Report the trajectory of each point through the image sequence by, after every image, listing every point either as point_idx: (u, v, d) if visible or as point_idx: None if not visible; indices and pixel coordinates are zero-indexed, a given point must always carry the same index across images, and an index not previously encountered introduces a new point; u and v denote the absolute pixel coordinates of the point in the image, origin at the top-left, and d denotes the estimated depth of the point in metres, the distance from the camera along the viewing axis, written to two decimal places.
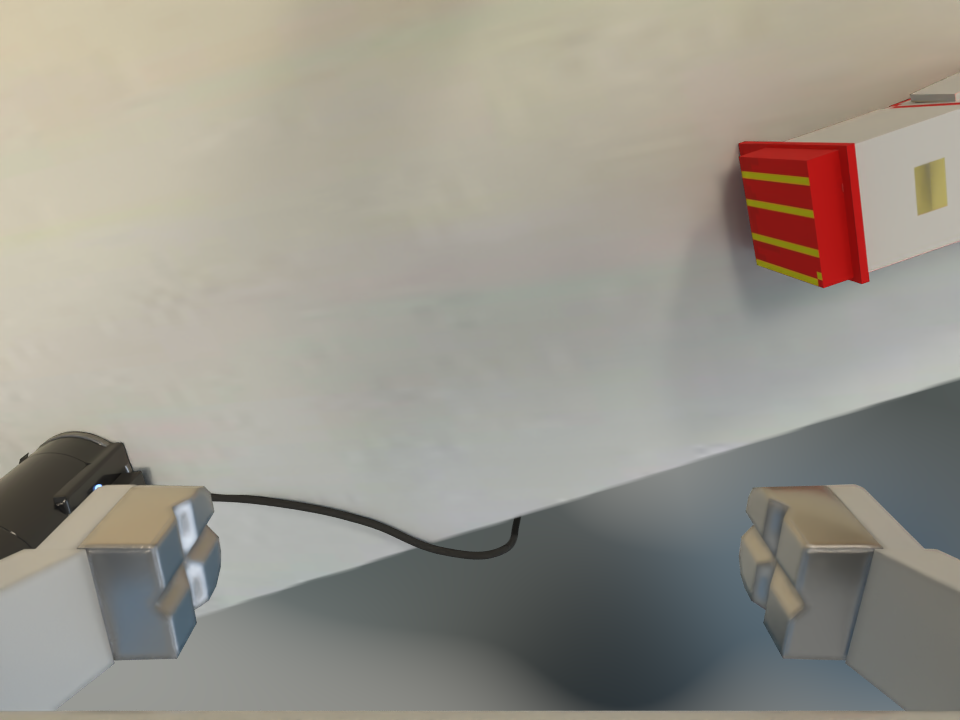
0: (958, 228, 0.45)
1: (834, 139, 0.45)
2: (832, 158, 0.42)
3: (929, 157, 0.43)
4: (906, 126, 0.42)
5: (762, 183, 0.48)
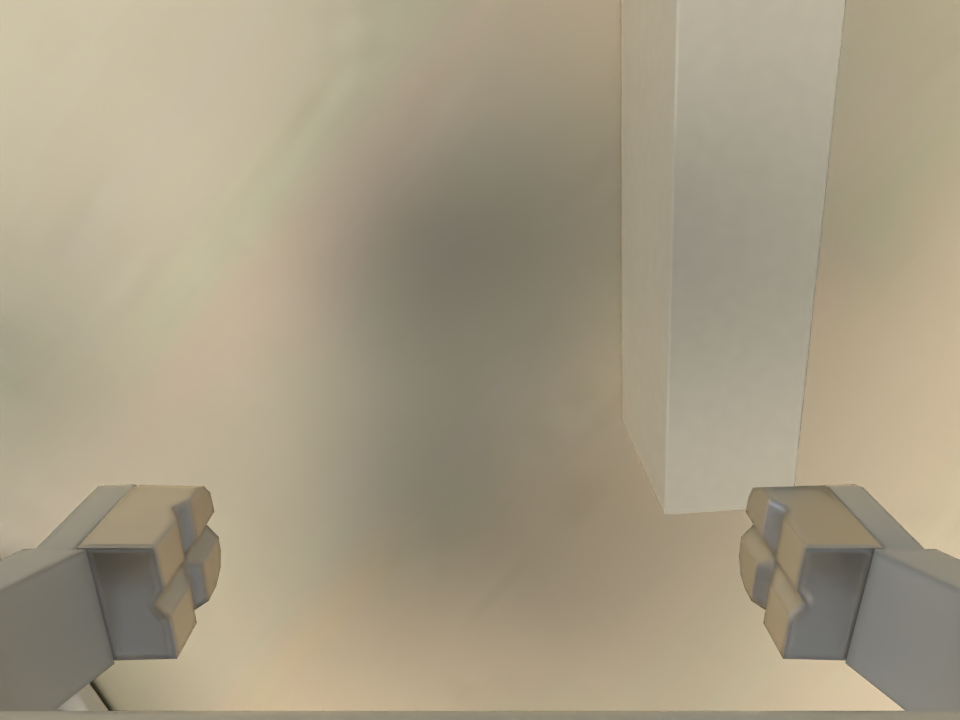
0: None
1: None
2: None
3: None
4: None
5: None
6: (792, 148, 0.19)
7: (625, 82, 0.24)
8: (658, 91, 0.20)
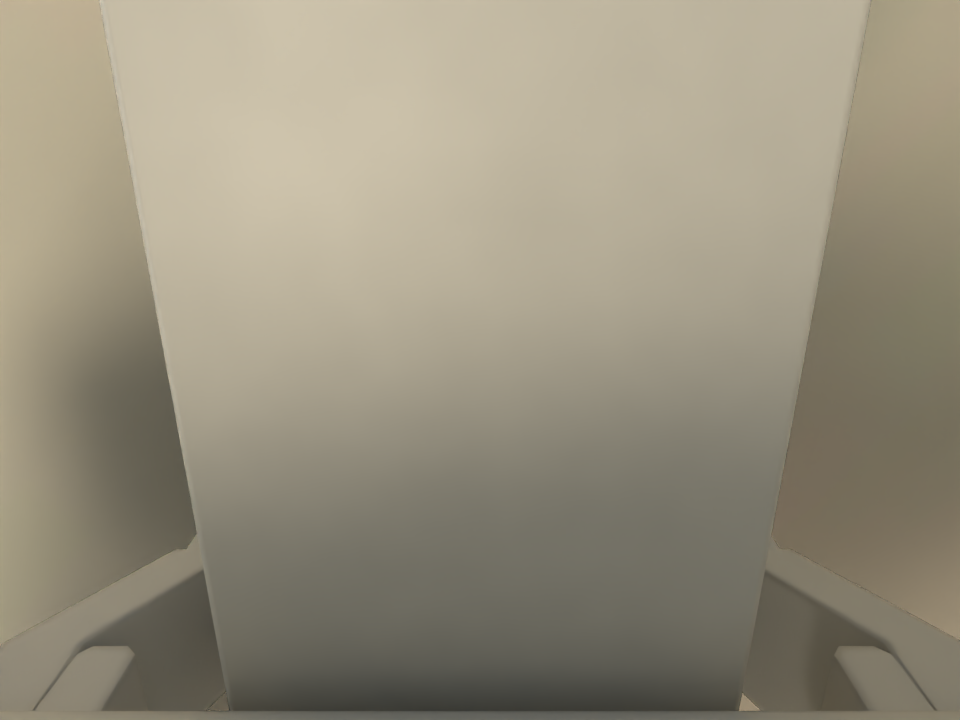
0: None
1: None
2: None
3: None
4: None
5: None
6: (670, 121, 0.04)
7: None
8: None
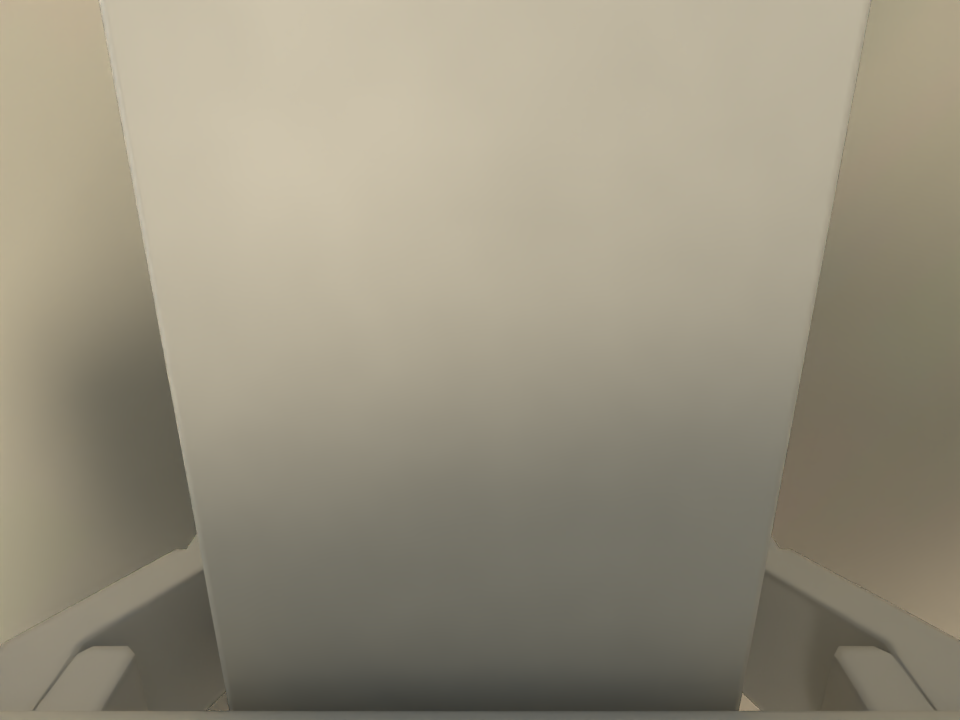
0: None
1: None
2: None
3: None
4: None
5: None
6: (670, 121, 0.04)
7: None
8: None
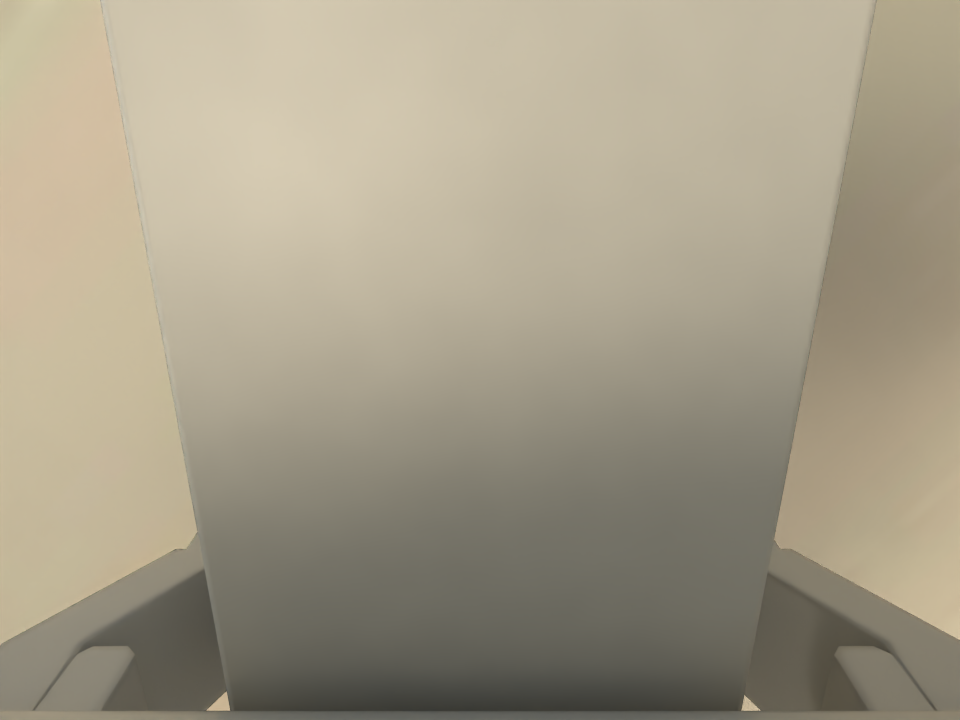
0: None
1: None
2: None
3: None
4: None
5: None
6: (675, 119, 0.04)
7: None
8: None
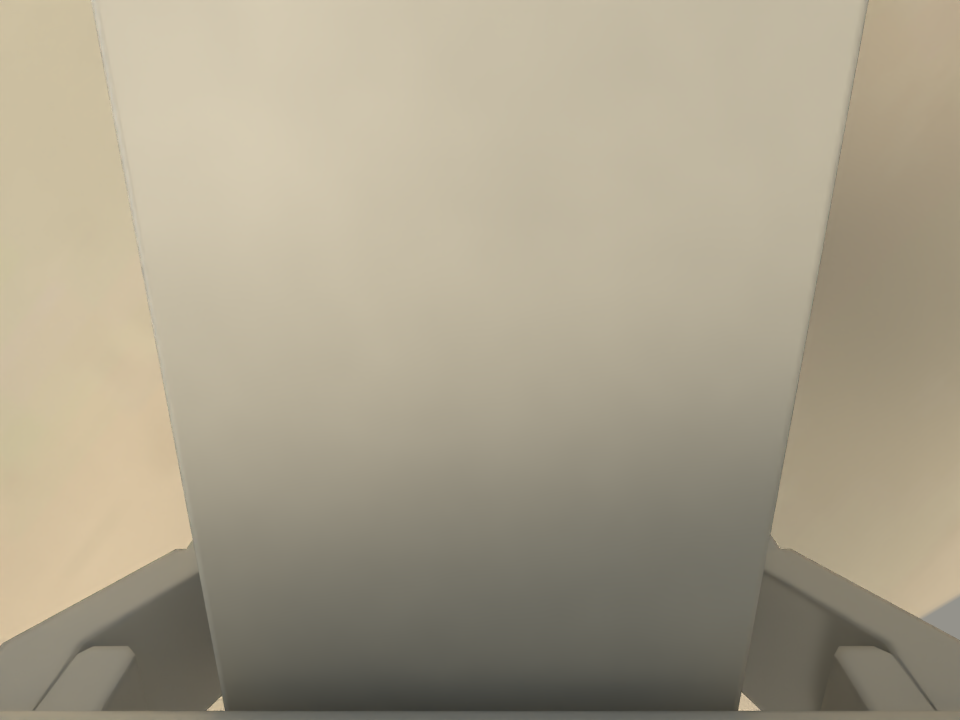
0: None
1: None
2: None
3: None
4: None
5: None
6: (669, 115, 0.04)
7: None
8: None
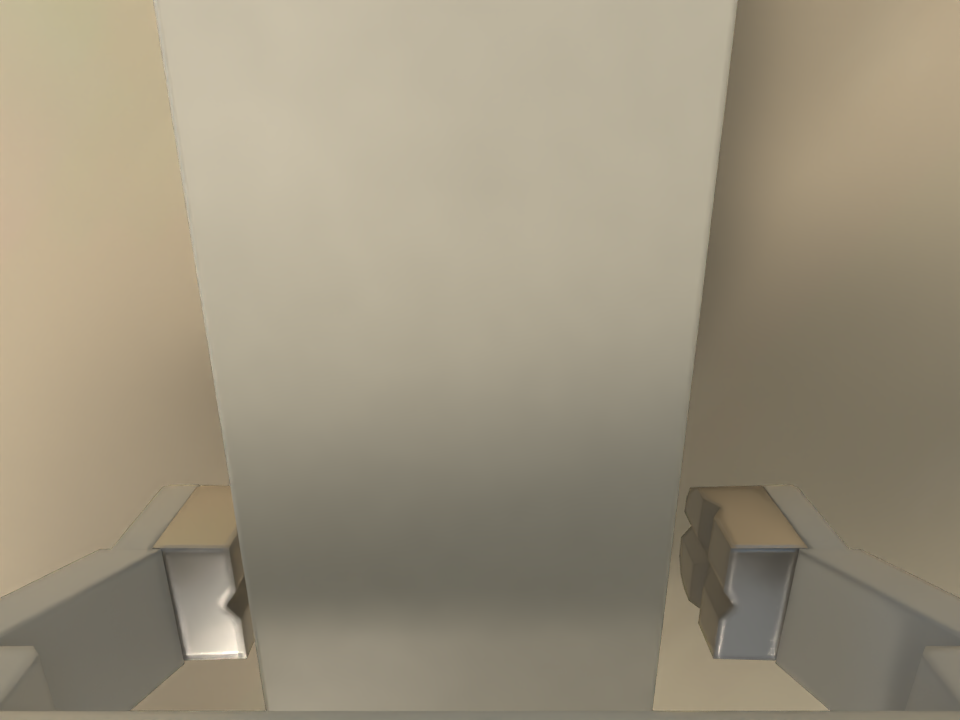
0: None
1: None
2: None
3: None
4: None
5: None
6: (588, 110, 0.05)
7: None
8: None
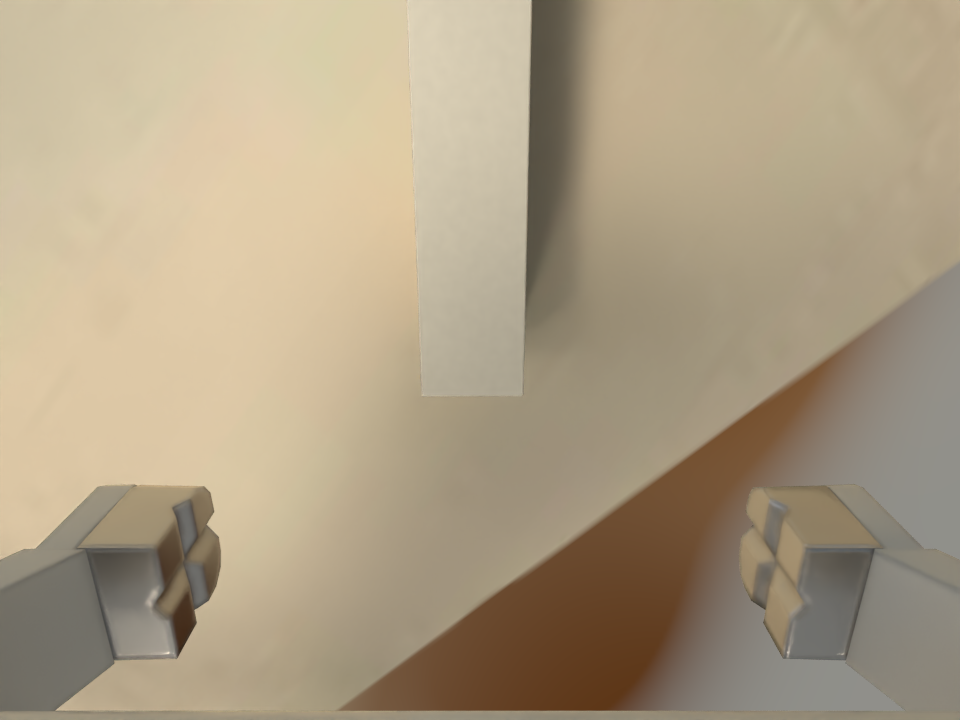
0: None
1: None
2: None
3: None
4: None
5: None
6: (500, 102, 0.25)
7: None
8: None
